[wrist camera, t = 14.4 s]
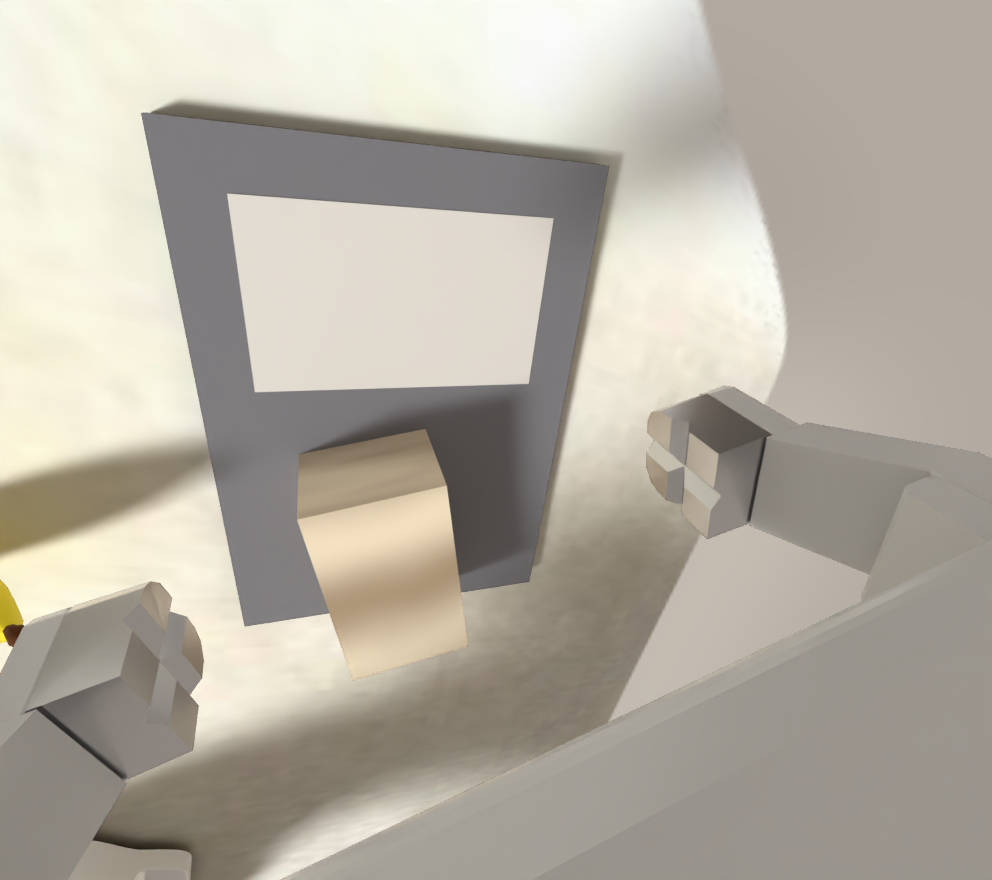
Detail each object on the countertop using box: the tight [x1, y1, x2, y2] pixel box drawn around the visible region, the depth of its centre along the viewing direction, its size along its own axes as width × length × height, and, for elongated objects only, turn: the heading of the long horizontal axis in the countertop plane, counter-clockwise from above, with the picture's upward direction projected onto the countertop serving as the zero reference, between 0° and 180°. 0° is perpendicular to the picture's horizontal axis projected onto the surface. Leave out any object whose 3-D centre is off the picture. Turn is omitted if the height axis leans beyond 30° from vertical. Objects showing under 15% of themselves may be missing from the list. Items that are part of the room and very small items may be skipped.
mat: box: [141, 113, 609, 626], centre depth 21 cm, size 20×14×1 cm
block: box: [297, 429, 468, 681], centre depth 21 cm, size 9×5×4 cm, turn 3°
